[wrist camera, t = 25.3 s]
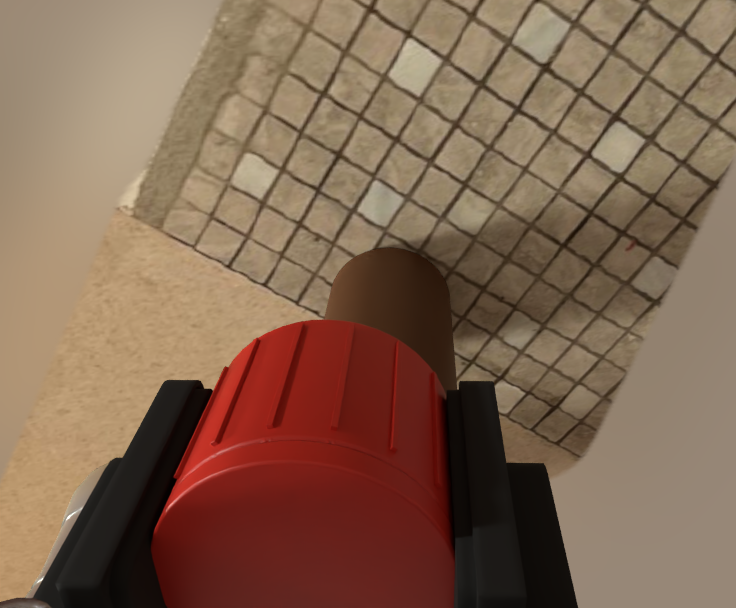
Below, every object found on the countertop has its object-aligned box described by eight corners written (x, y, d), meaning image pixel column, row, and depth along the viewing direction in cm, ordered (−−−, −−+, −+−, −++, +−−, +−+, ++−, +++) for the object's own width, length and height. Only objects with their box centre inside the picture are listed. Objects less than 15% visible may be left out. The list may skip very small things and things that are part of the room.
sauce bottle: (474, 292, 36) (517, 584, 20) (401, 369, 39) (389, 679, 23) (376, 223, 34) (341, 484, 19) (307, 310, 37) (226, 599, 21)
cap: (256, 279, 10) (190, 412, 7) (493, 368, 11) (521, 528, 8) (190, 463, 12) (118, 628, 9) (396, 534, 12) (389, 712, 10)
